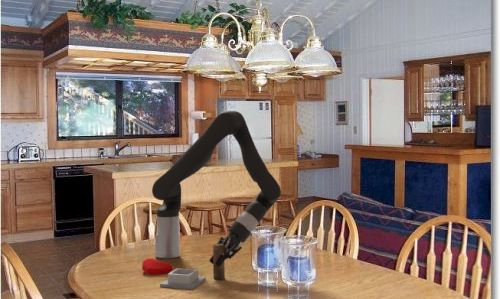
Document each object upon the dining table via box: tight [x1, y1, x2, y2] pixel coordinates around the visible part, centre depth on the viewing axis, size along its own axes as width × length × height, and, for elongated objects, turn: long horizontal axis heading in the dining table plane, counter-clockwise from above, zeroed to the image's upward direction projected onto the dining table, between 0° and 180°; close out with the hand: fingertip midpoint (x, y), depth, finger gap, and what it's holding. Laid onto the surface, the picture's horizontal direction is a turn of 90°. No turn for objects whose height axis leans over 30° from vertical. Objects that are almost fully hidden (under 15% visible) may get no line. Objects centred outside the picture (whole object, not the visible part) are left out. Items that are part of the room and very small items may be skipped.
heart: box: [141, 257, 174, 276], centre depth 204 cm, size 12×4×10 cm
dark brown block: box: [212, 243, 226, 281], centre depth 196 cm, size 4×4×12 cm
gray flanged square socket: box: [159, 267, 207, 290], centre depth 190 cm, size 12×12×4 cm
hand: (214, 263), depth 195 cm, fingers closed on dark brown block, 4 cm apart
